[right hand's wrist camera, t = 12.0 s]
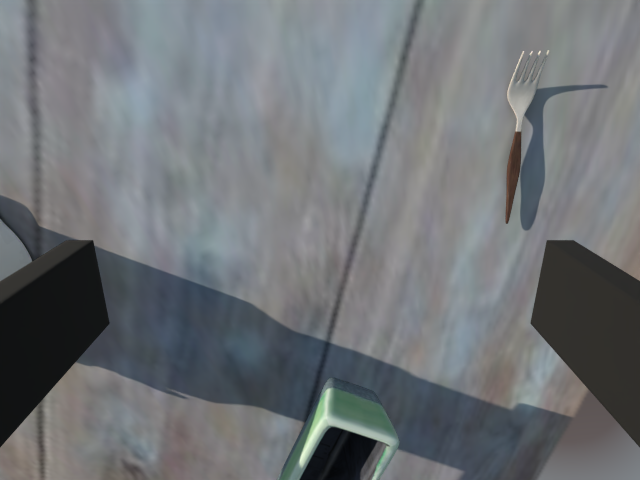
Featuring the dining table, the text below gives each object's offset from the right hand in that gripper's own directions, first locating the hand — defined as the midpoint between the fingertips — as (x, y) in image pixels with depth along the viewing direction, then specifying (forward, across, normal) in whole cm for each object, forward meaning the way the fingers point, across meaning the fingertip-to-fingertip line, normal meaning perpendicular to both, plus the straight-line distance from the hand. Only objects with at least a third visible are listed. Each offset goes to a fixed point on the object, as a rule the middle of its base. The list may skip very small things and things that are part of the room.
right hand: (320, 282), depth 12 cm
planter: (+23, -1, -34) cm, 41 cm away
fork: (+30, +19, 0) cm, 36 cm away
